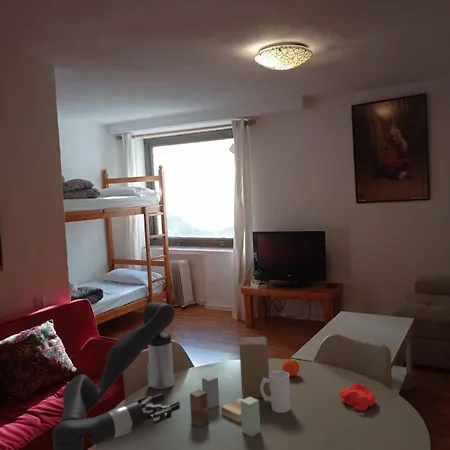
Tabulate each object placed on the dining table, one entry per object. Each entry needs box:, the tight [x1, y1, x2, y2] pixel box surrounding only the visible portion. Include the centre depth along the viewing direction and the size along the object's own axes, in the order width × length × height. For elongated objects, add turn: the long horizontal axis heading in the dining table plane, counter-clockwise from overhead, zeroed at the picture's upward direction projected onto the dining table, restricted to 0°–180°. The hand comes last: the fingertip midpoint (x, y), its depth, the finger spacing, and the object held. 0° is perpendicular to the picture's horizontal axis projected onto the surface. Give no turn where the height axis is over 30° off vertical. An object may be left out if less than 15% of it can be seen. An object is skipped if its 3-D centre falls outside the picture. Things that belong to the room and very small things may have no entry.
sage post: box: [241, 397, 261, 437], centre depth 140 cm, size 4×4×10 cm
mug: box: [260, 370, 291, 414], centre depth 155 cm, size 10×7×12 cm, turn 82°
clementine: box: [281, 358, 303, 378], centre depth 183 cm, size 8×7×7 cm
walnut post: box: [189, 388, 210, 428], centre depth 148 cm, size 4×4×10 cm
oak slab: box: [220, 397, 244, 423], centre depth 153 cm, size 9×9×3 cm
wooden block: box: [239, 336, 271, 399], centre depth 168 cm, size 10×10×20 cm
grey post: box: [201, 374, 220, 410], centre depth 161 cm, size 4×4×10 cm
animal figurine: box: [339, 382, 376, 411], centre depth 158 cm, size 12×15×5 cm
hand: (171, 400), depth 140 cm, fingers open, 8 cm apart
